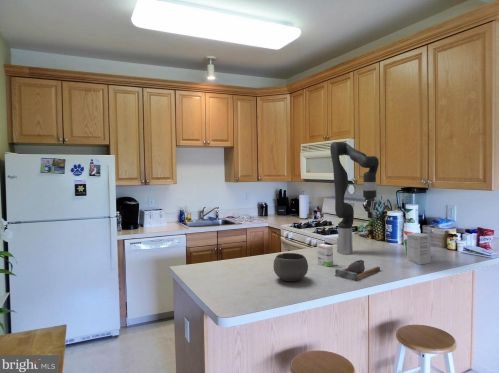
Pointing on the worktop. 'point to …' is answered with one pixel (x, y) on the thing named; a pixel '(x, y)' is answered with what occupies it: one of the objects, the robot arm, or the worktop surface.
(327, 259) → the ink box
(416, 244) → the supplement box
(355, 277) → the channel
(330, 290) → the worktop surface
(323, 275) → the worktop surface
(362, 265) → the perforated stone tool
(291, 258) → the bowl
